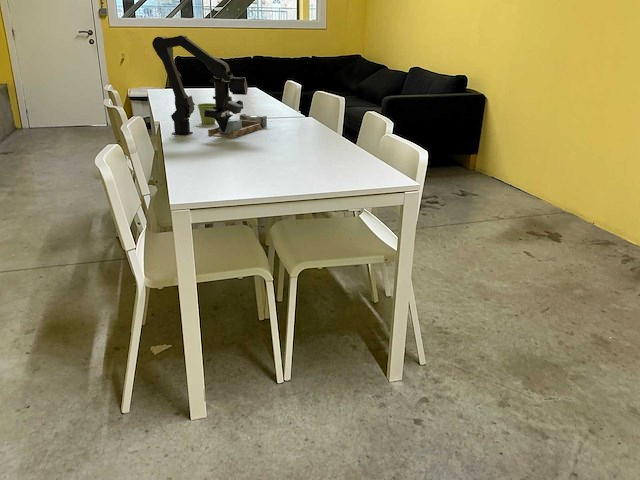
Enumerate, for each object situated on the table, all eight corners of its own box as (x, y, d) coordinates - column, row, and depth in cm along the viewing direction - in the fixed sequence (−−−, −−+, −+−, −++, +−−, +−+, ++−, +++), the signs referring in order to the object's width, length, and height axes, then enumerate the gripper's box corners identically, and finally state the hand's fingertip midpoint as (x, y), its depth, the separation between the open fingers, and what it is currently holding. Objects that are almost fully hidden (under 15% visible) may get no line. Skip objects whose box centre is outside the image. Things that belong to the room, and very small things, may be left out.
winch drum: (262, 128, 242) (262, 117, 240) (239, 125, 246) (239, 114, 245) (267, 126, 246) (267, 116, 244) (244, 124, 250) (244, 113, 248)
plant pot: (214, 125, 245) (213, 106, 242) (195, 124, 247) (193, 105, 243) (221, 122, 254) (220, 103, 251) (202, 121, 255) (201, 102, 252)
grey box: (233, 134, 225) (233, 122, 223) (219, 132, 227) (218, 120, 225) (241, 131, 231) (241, 120, 229) (228, 129, 233) (227, 118, 231)
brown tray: (232, 138, 220) (232, 130, 219) (208, 135, 224) (207, 127, 223) (260, 129, 241) (260, 121, 239) (237, 126, 245) (237, 119, 244)
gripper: (226, 97, 207) (227, 137, 213) (250, 93, 223) (251, 130, 229) (202, 95, 211) (204, 134, 217) (227, 91, 227) (229, 127, 233)
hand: (223, 131), depth 224 cm, fingers closed
